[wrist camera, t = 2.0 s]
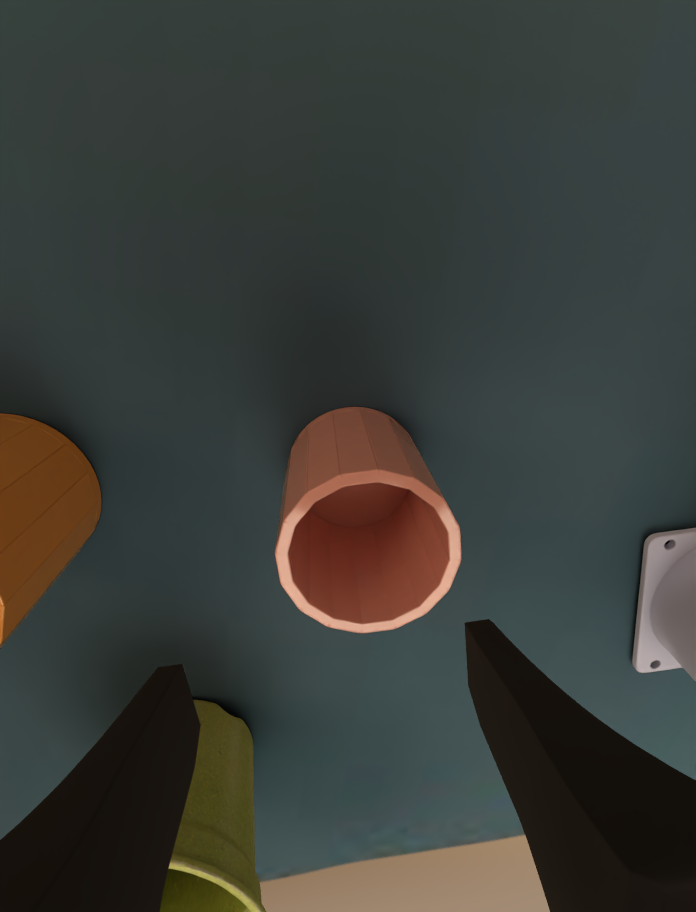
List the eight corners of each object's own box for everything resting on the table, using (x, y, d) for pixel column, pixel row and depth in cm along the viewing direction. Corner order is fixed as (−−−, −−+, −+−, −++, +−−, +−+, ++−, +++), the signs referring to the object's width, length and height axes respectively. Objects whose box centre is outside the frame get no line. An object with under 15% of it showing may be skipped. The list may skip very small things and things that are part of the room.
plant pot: (124, 814, 29) (49, 1034, 20) (77, 681, 25) (-35, 881, 17) (293, 794, 29) (286, 1002, 21) (270, 660, 25) (249, 847, 17)
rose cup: (413, 398, 21) (457, 458, 15) (422, 518, 23) (464, 620, 17) (277, 415, 21) (261, 484, 15) (298, 535, 23) (291, 643, 17)
